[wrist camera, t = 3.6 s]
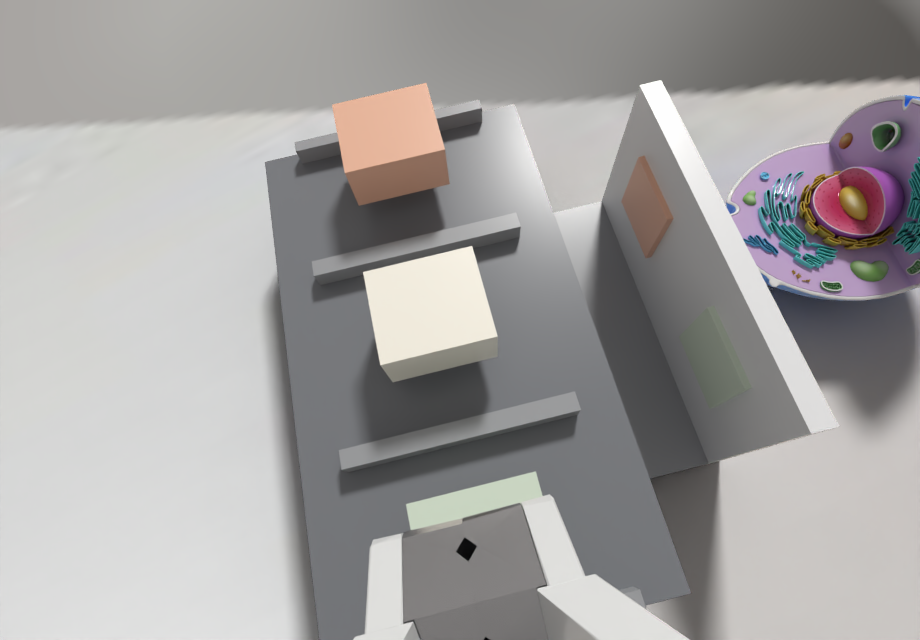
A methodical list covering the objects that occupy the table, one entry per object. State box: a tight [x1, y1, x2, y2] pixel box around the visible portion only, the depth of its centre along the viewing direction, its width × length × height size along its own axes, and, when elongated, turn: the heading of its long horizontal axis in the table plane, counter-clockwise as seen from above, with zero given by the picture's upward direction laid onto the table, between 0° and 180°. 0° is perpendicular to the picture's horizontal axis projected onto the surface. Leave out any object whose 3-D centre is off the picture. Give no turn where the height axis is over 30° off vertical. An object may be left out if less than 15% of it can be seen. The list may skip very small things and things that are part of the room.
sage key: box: [406, 471, 543, 530], centre depth 18 cm, size 4×4×2 cm
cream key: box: [363, 246, 498, 382], centre depth 21 cm, size 4×4×2 cm
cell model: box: [726, 95, 920, 301], centre depth 26 cm, size 10×12×10 cm
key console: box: [265, 80, 840, 640], centre depth 25 cm, size 20×25×10 cm
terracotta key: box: [332, 83, 450, 206], centre depth 25 cm, size 4×4×2 cm
